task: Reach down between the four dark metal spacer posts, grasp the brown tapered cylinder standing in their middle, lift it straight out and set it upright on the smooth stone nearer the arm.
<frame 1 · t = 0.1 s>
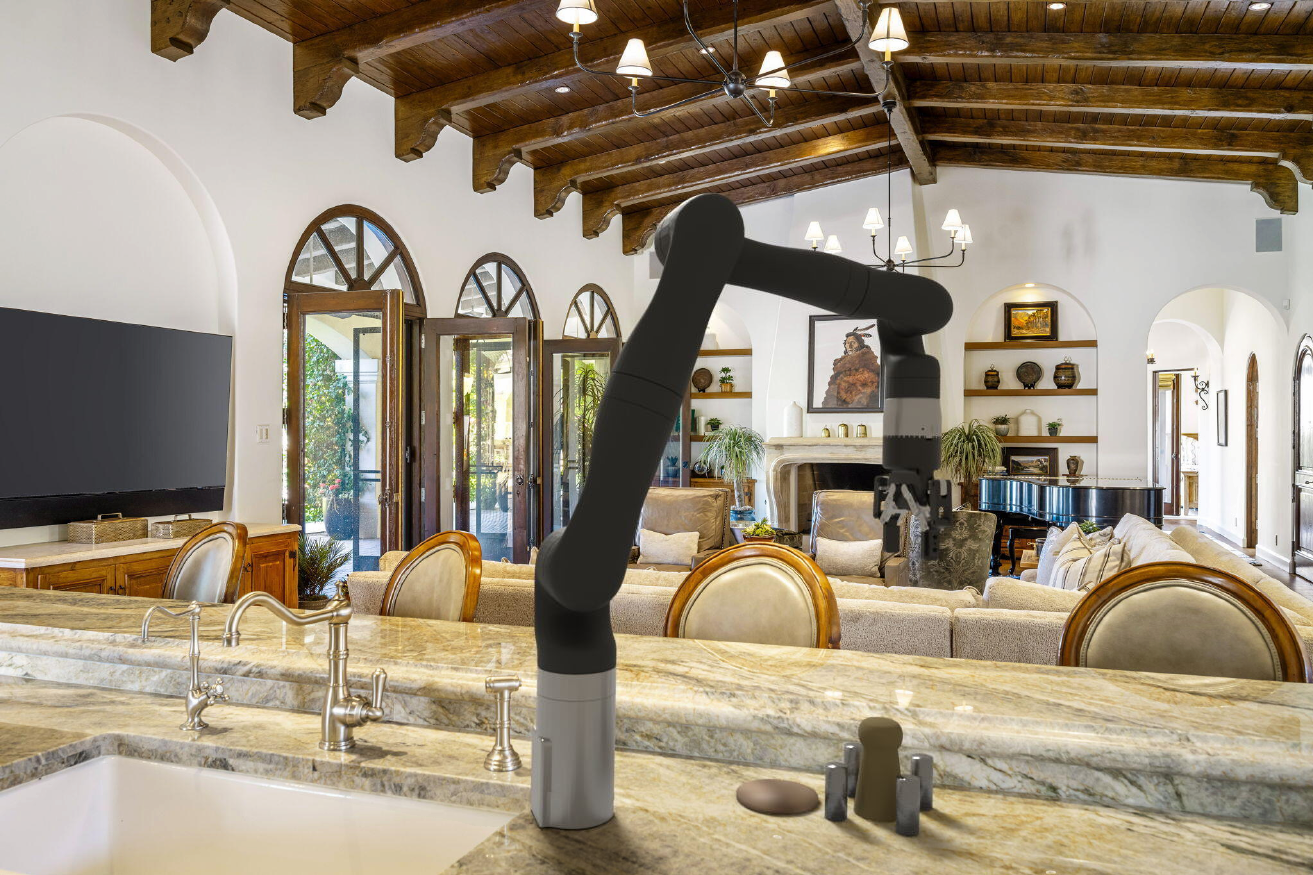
hand: (909, 556, 119), 29 cm above the worktop, tool pointing down, fingers open, 8 cm apart
brown tapered cylinder: (879, 813, 107), on the worktop
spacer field: (879, 811, 107), on the worktop
smooth stone: (777, 798, 111), on the worktop
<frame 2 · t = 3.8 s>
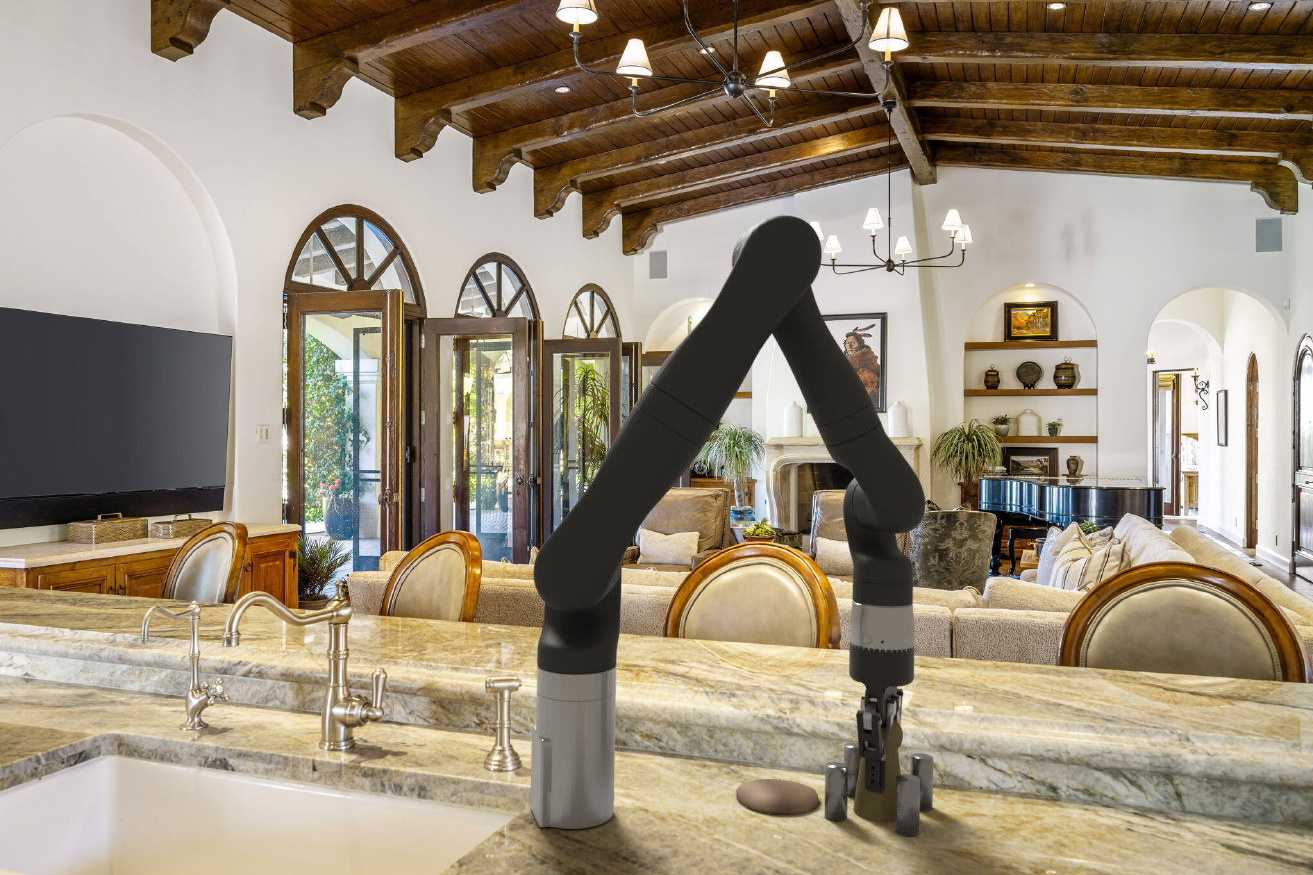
hand: (879, 784, 107), 3 cm above the worktop, tool pointing down, fingers closed on brown tapered cylinder, 4 cm apart
brown tapered cylinder: (879, 813, 107), on the worktop, touching gripper
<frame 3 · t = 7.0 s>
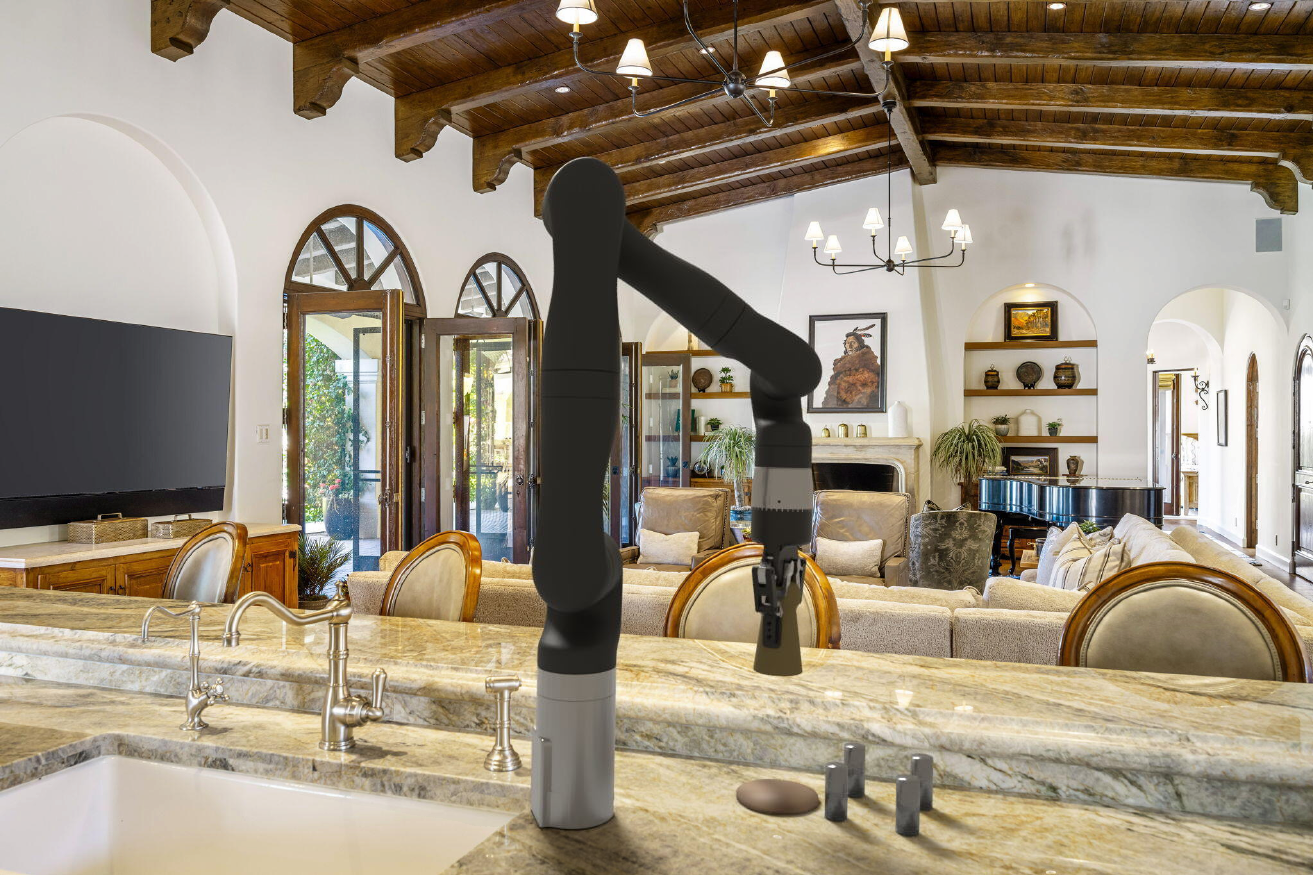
hand: (778, 643, 111), 19 cm above the worktop, tool pointing down, fingers closed on brown tapered cylinder, 4 cm apart
brown tapered cylinder: (777, 671, 111), point 16 cm above the worktop, touching gripper
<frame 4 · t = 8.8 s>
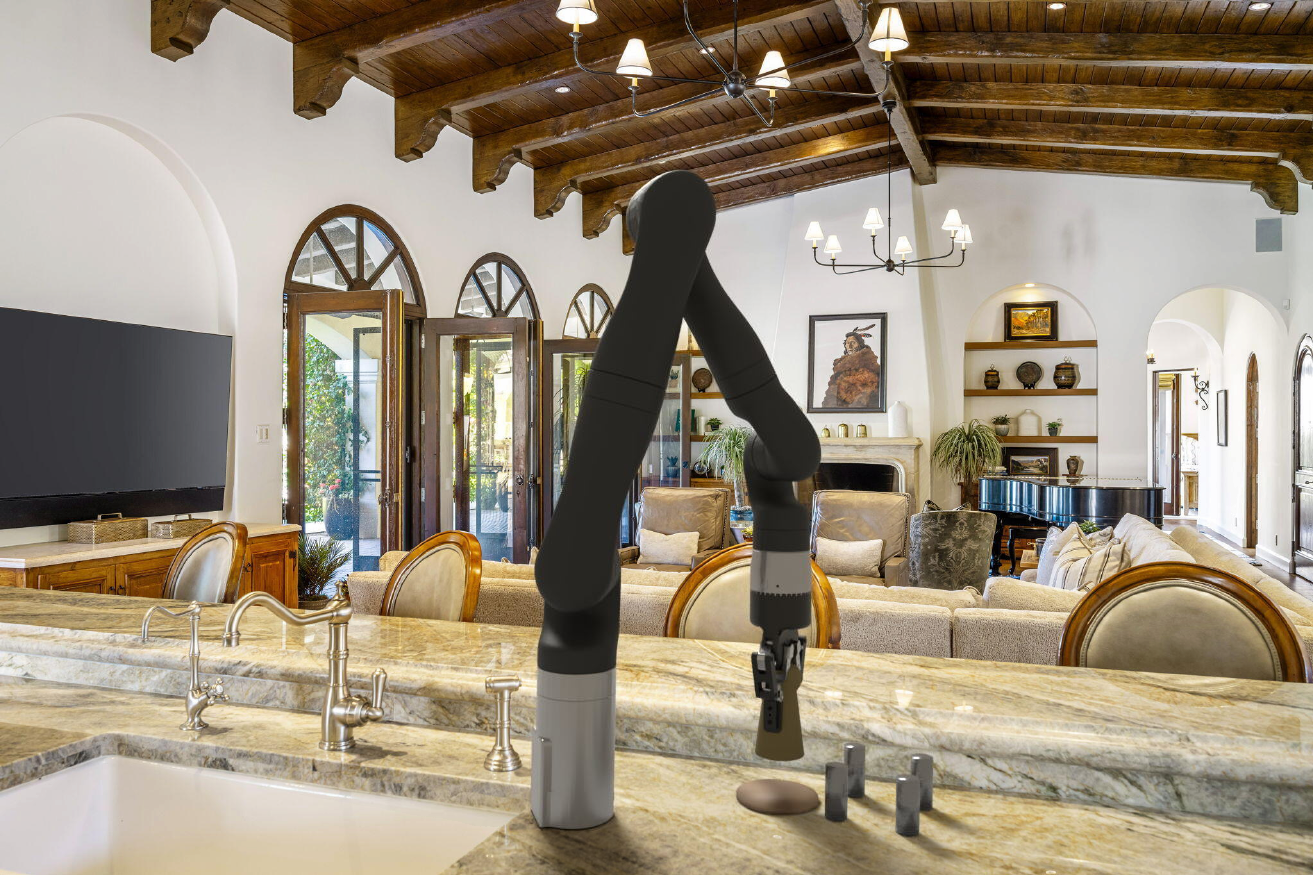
hand: (779, 725, 111), 9 cm above the worktop, tool pointing down, fingers closed on brown tapered cylinder, 4 cm apart
brown tapered cylinder: (779, 754, 111), point 5 cm above the worktop, touching gripper
when the fingers open (5 cm above the worktop, at t = 10.4 s): brown tapered cylinder drops 1 cm, resting on smooth stone.
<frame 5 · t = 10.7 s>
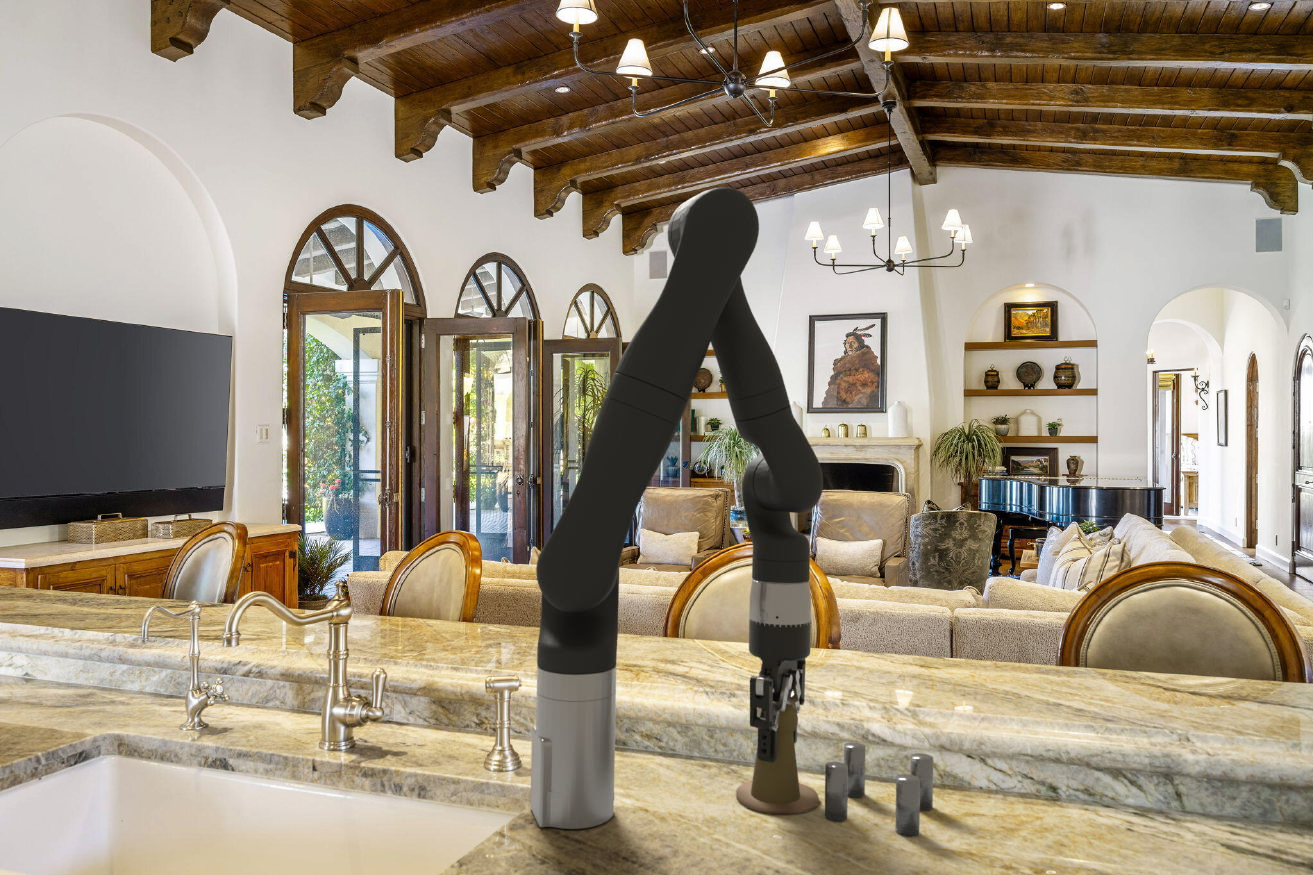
hand: (777, 751, 111), 6 cm above the worktop, tool pointing down, fingers open, 7 cm apart
brown tapered cylinder: (775, 795, 111), resting on smooth stone
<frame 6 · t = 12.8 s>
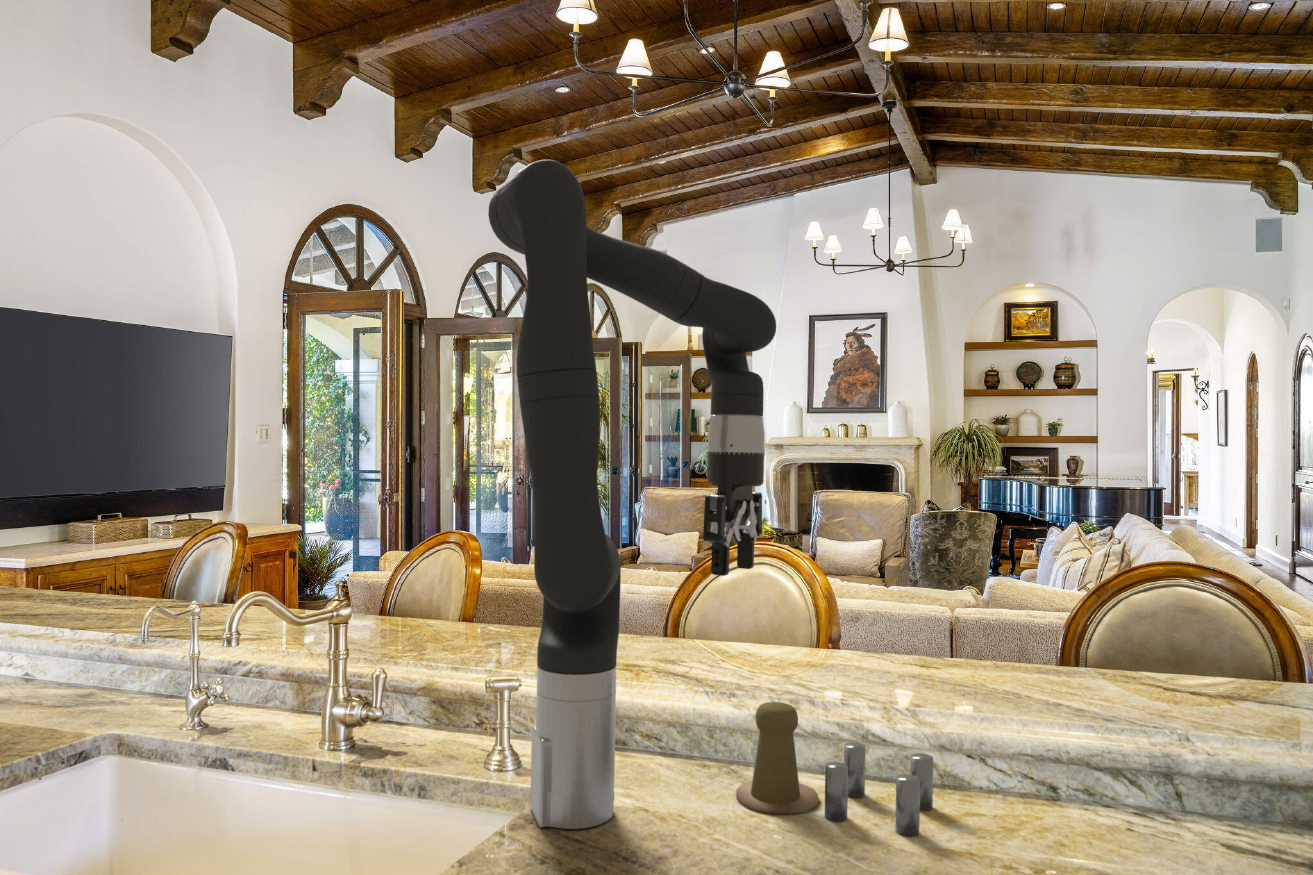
hand: (733, 571, 120), 27 cm above the worktop, tool pointing down, fingers open, 8 cm apart
nothing on the worktop moved.
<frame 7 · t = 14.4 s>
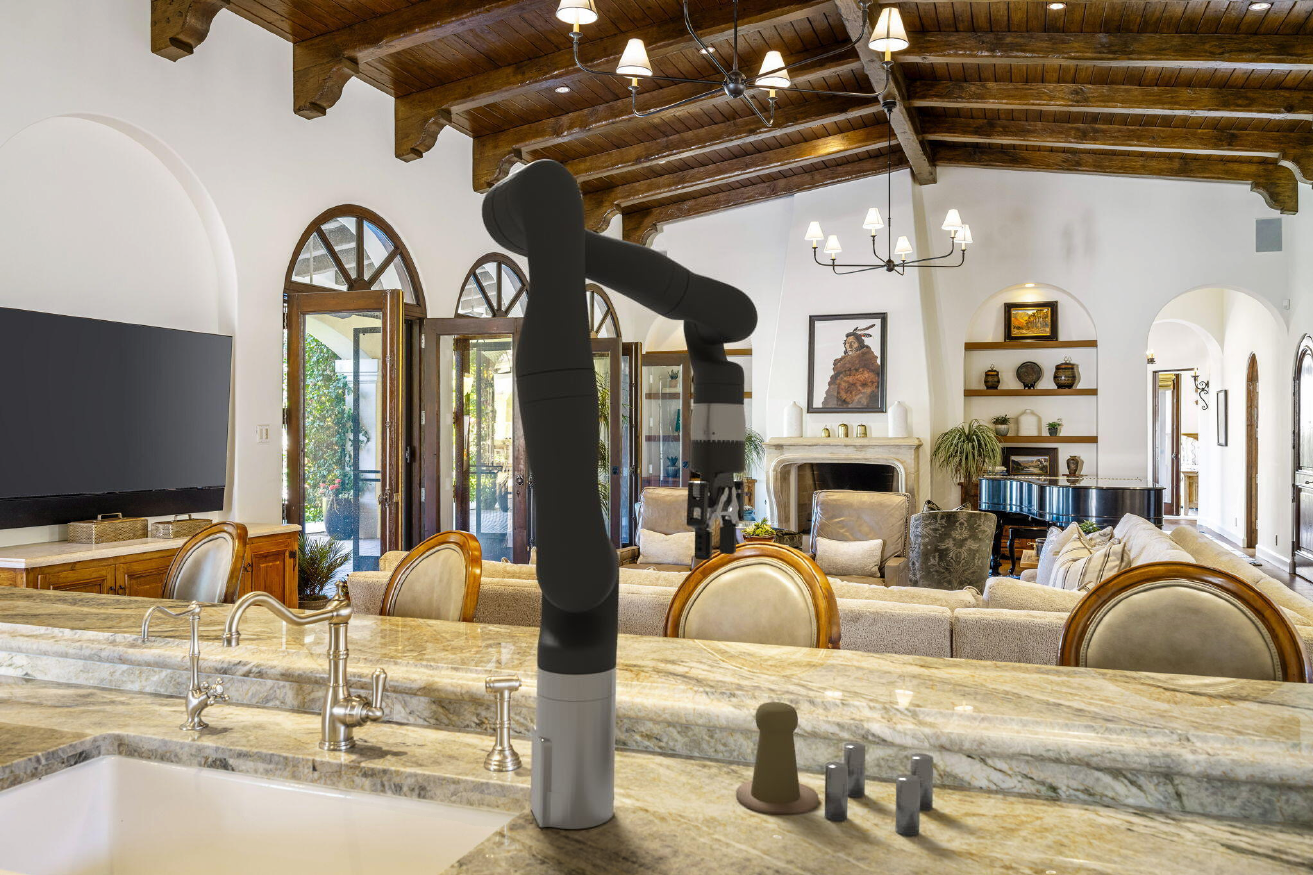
hand: (715, 556, 124), 28 cm above the worktop, tool pointing down, fingers open, 8 cm apart
nothing on the worktop moved.
at the end: brown tapered cylinder 0.3 cm off-centre on the smooth stone, point 0.4 cm above the smooth stone's base; brown tapered cylinder tilted 0°; the gripper is holding nothing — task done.
